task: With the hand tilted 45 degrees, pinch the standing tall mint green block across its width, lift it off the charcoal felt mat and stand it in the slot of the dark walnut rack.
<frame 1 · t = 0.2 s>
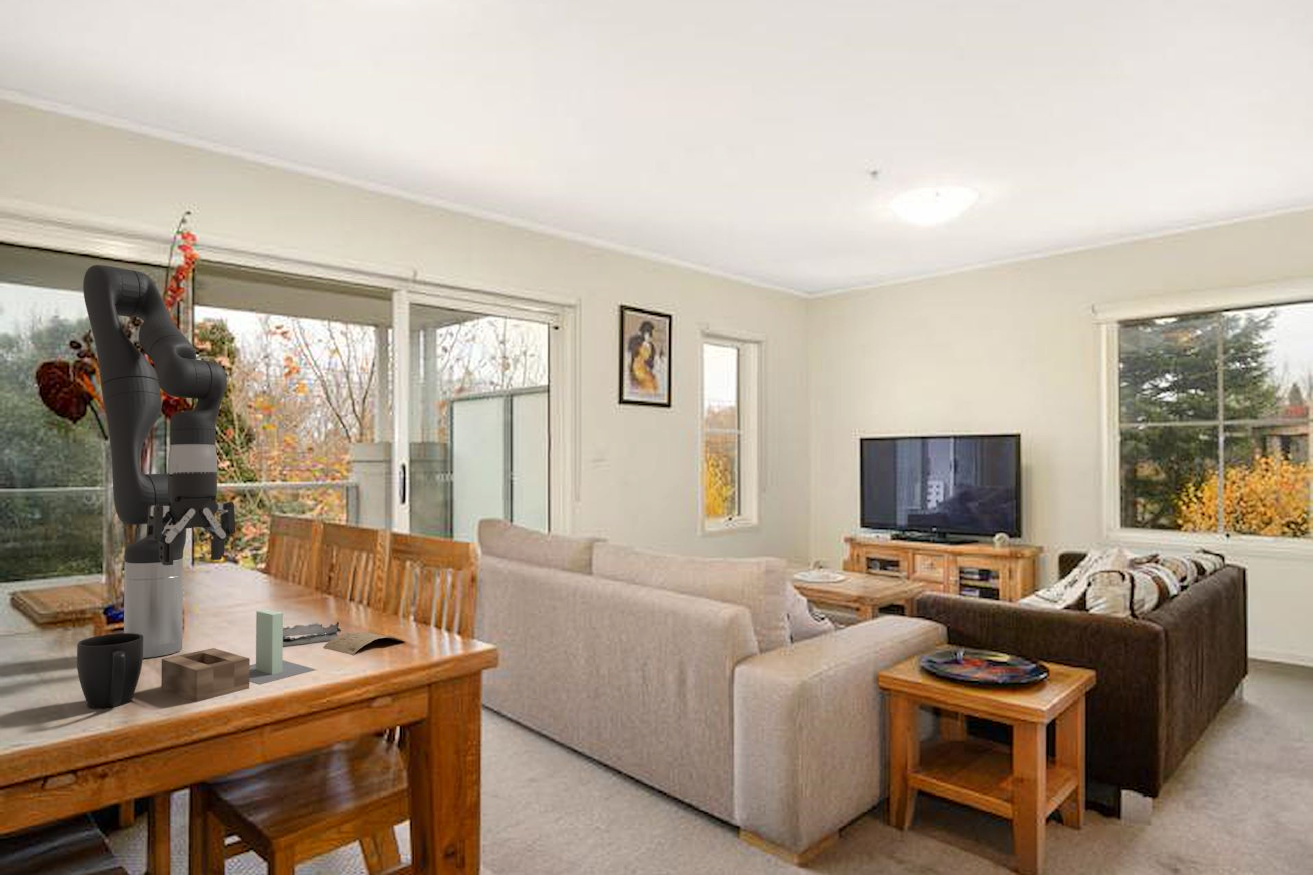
hand: (192, 562, 138), 18 cm above the table, tool pointing down, fingers open, 8 cm apart
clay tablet: (363, 650, 151), on the table
tall mint green block: (269, 670, 133), resting on mat
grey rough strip: (304, 643, 155), on the table
mug: (111, 707, 116), on the table
rack: (205, 690, 124), on the table
mat: (269, 672, 133), on the table
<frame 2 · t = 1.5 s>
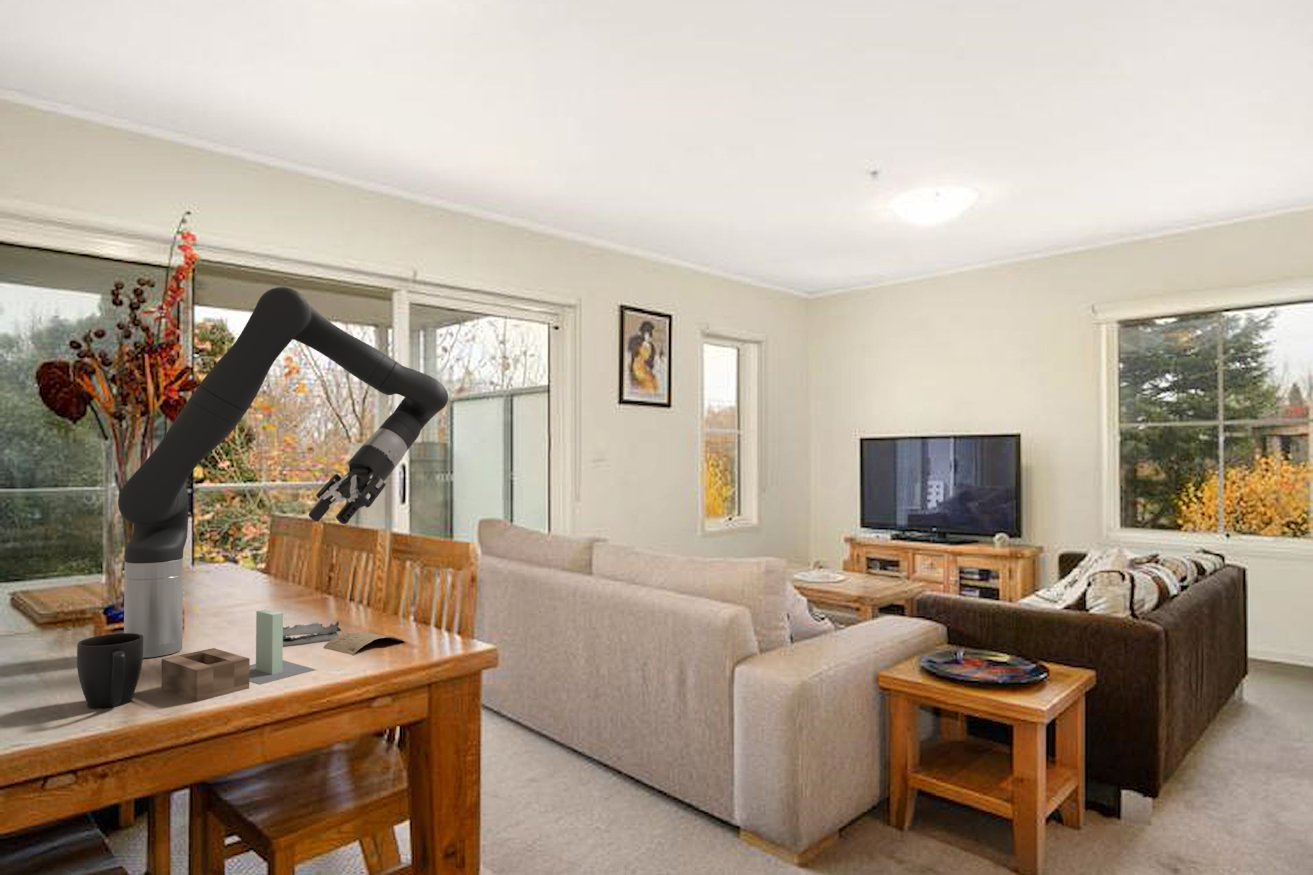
hand: (326, 520, 144), 25 cm above the table, tool tilted 45°, fingers open, 8 cm apart
nothing on the table moved.
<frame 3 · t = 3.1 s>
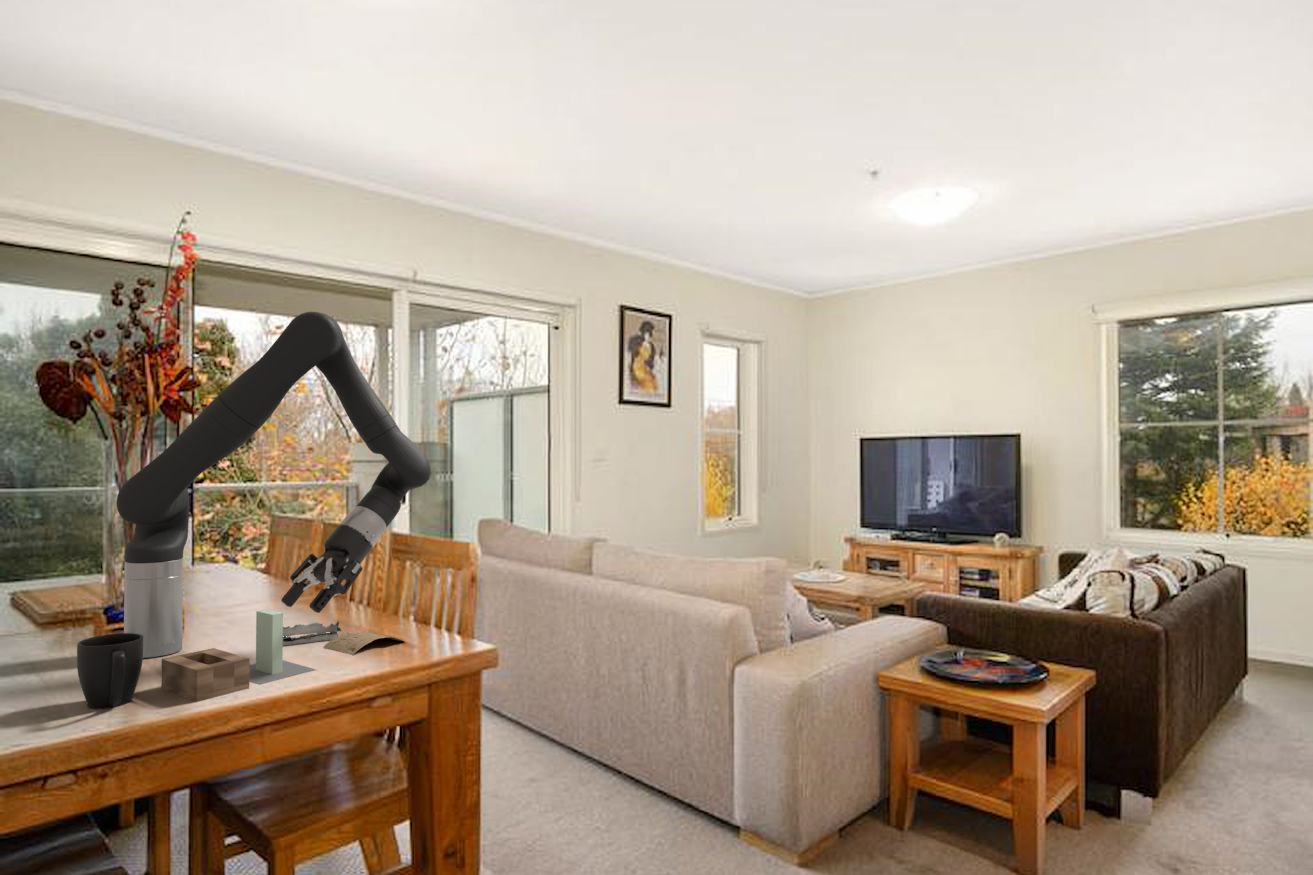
hand: (299, 607, 138), 10 cm above the table, tool tilted 45°, fingers open, 8 cm apart
nothing on the table moved.
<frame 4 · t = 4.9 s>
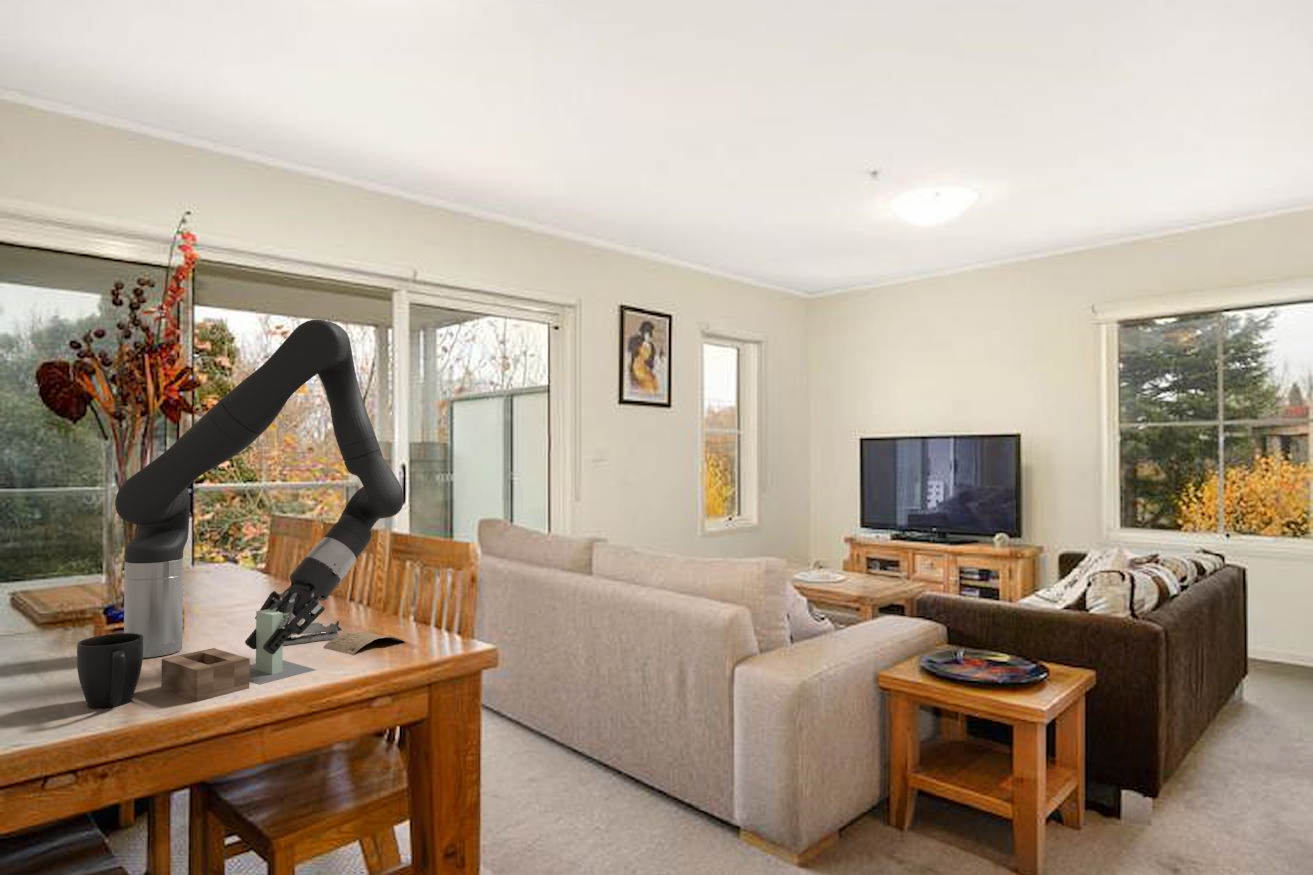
hand: (258, 648, 132), 4 cm above the table, tool tilted 45°, fingers closed on tall mint green block, 5 cm apart
tall mint green block: (269, 670, 133), resting on mat, touching gripper
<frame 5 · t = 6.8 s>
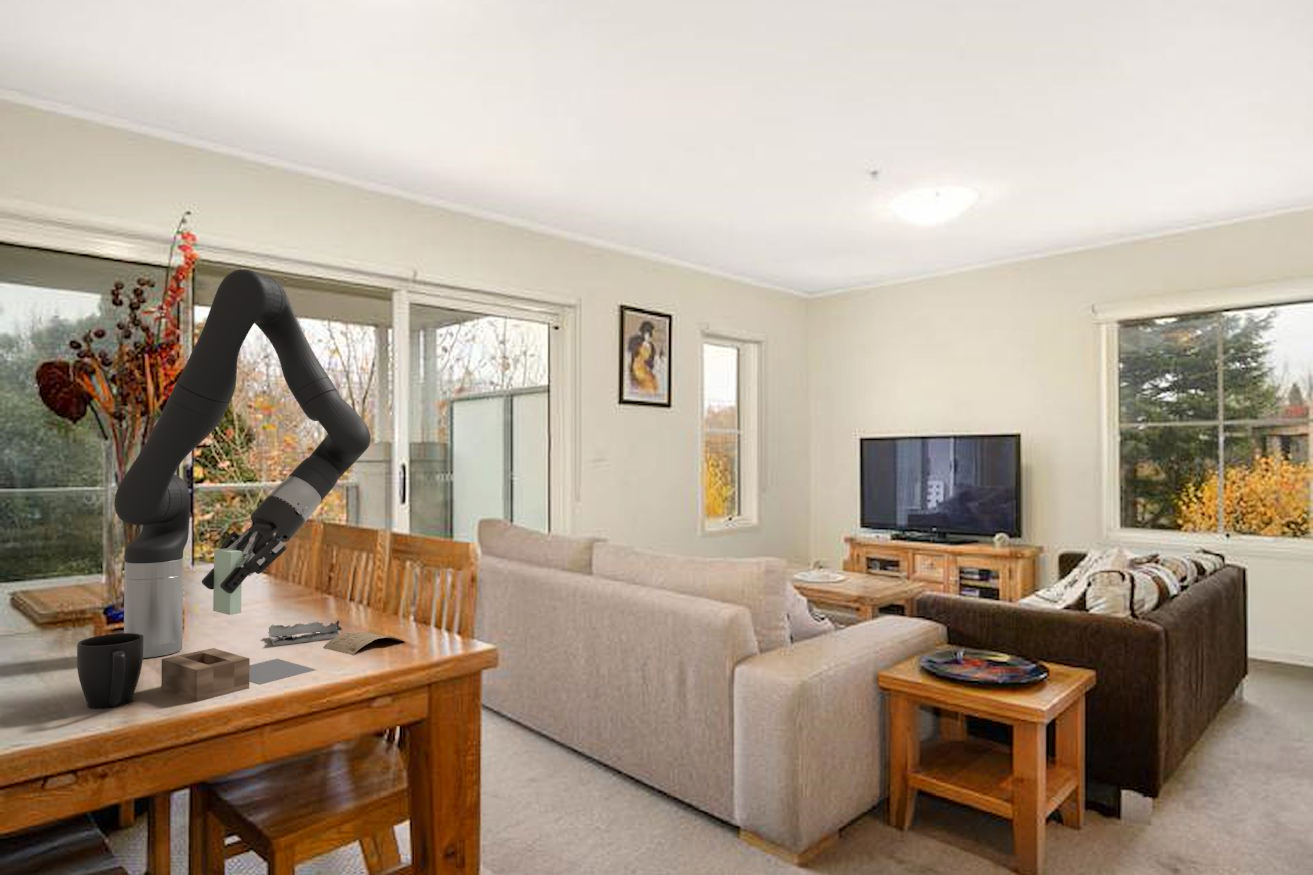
hand: (215, 587, 125), 16 cm above the table, tool tilted 45°, fingers closed on tall mint green block, 5 cm apart
tall mint green block: (227, 611, 127), point 12 cm above the table, touching gripper
when the fingers open (7 cm above the table, at t = 9.1 s): tall mint green block drops 2 cm, resting on rack.
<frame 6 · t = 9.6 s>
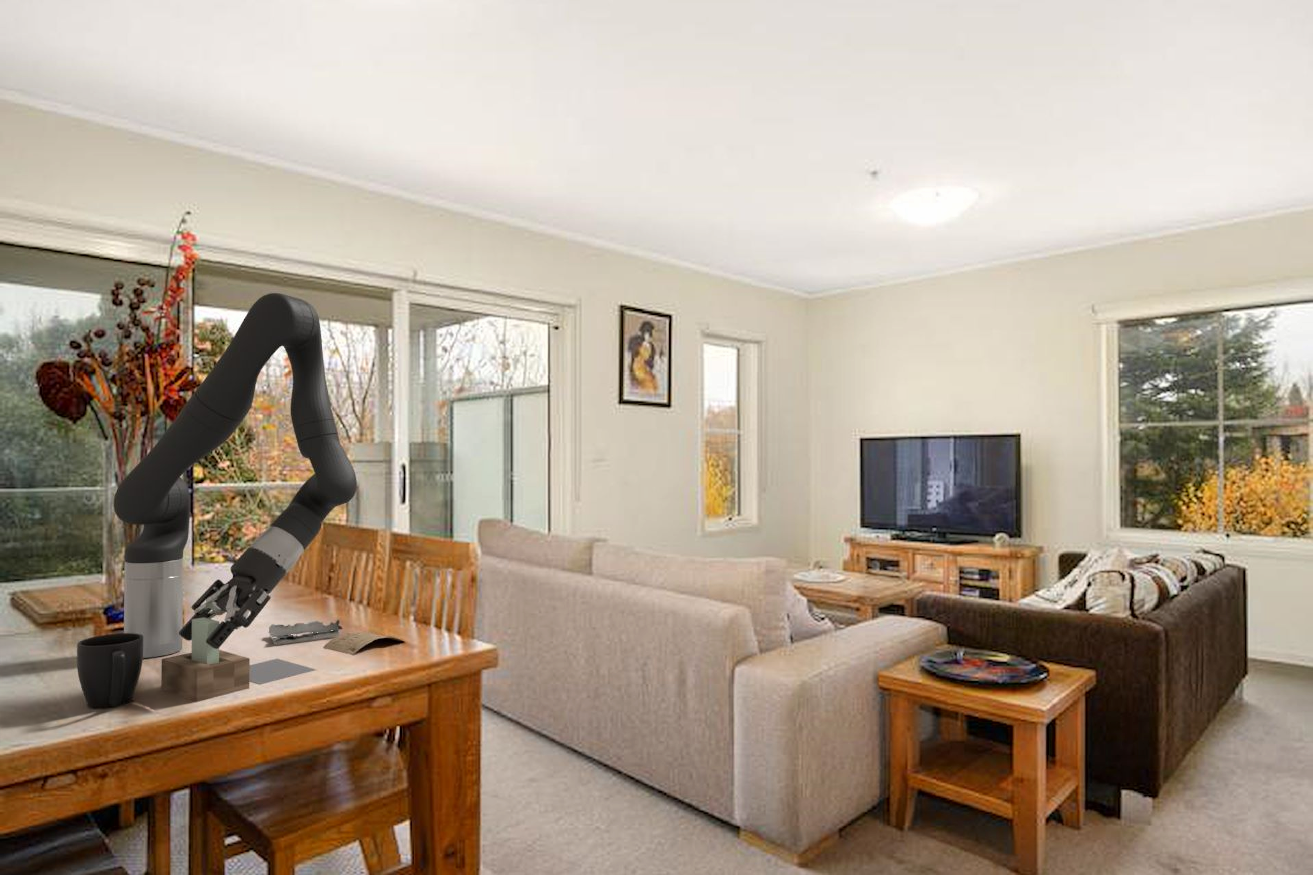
hand: (197, 641, 123), 8 cm above the table, tool tilted 45°, fingers open, 8 cm apart
tall mint green block: (204, 683, 124), point 1 cm above the table, touching rack
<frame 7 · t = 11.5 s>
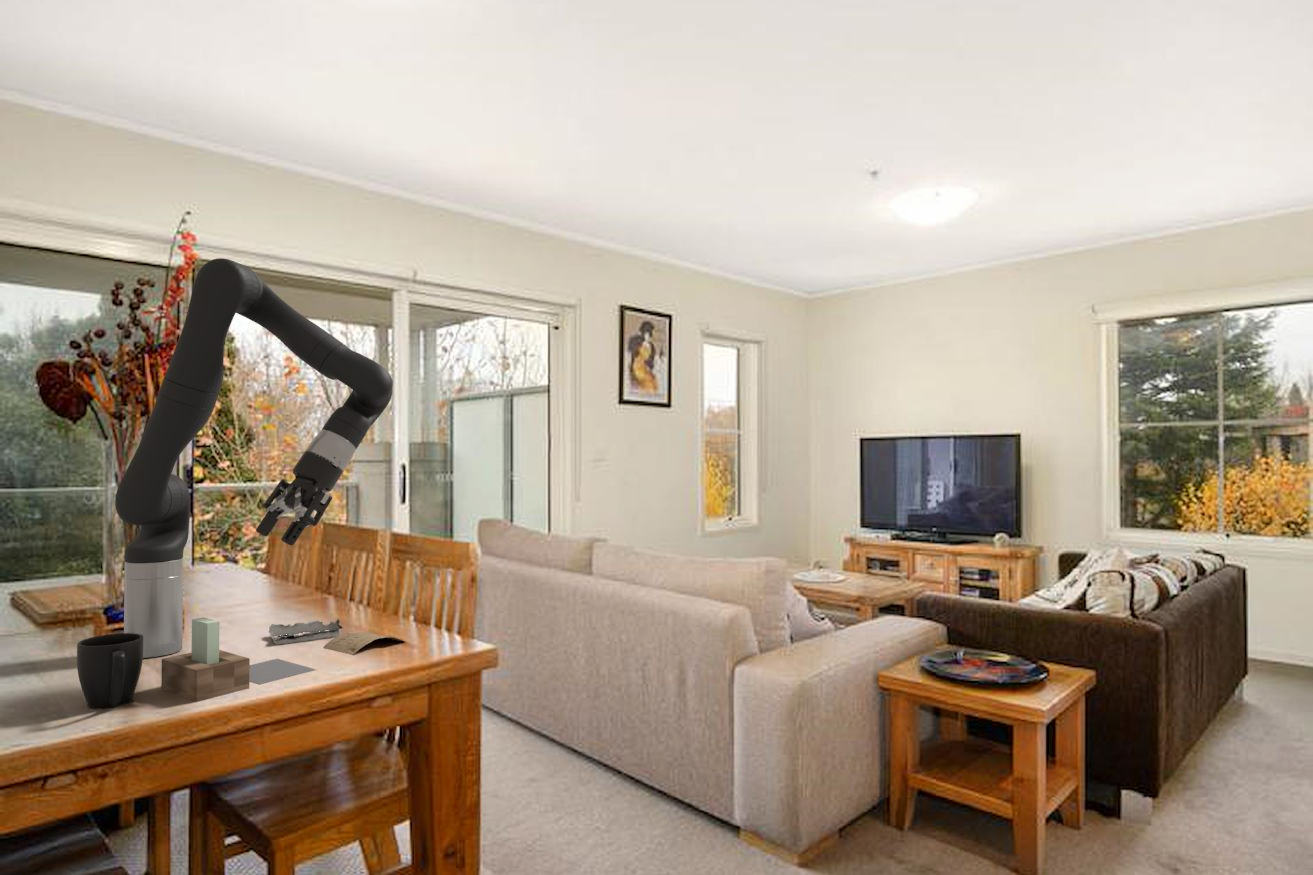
hand: (273, 538, 137), 22 cm above the table, tool tilted 35°, fingers open, 8 cm apart
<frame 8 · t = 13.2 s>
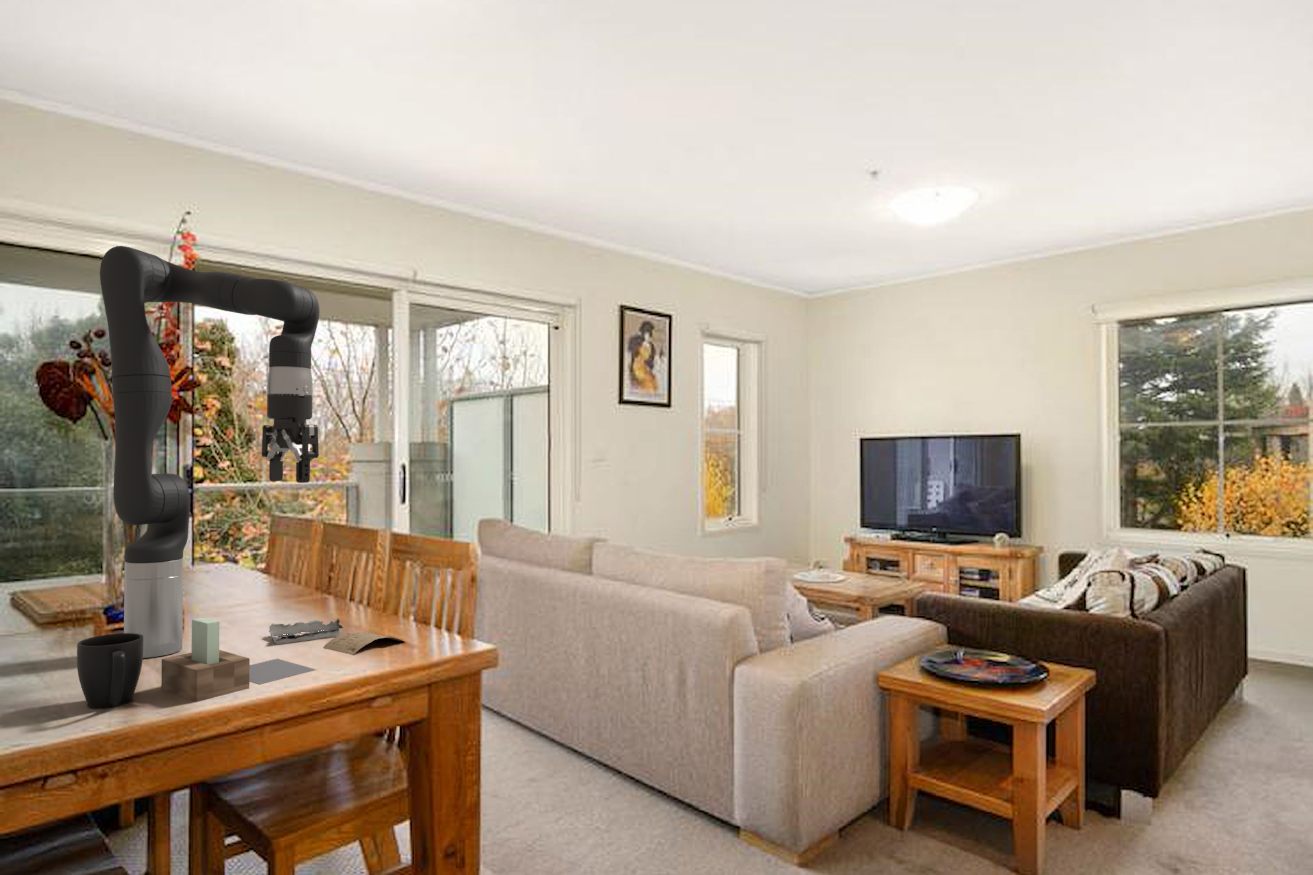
hand: (289, 481, 143), 32 cm above the table, tool pointing down, fingers open, 8 cm apart
at the end: tall mint green block 0.2 cm off-centre on the rack, point 1.0 cm above the rack's base; tall mint green block tilted 0°; the gripper is holding nothing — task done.
